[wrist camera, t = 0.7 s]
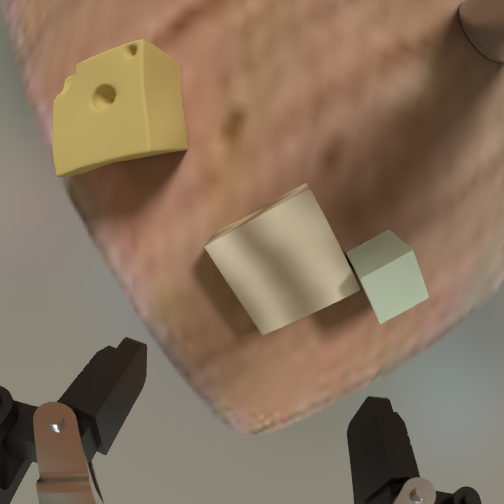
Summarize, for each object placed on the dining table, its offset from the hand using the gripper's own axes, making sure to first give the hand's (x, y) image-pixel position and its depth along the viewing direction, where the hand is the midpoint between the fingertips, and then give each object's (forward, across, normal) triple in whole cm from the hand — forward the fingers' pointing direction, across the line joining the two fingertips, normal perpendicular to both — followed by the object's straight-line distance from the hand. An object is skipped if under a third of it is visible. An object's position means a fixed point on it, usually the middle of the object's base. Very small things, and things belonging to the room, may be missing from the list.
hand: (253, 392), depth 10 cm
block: (+24, -12, +1) cm, 26 cm away
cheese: (+24, +17, -8) cm, 30 cm away
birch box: (+24, -2, +3) cm, 24 cm away
